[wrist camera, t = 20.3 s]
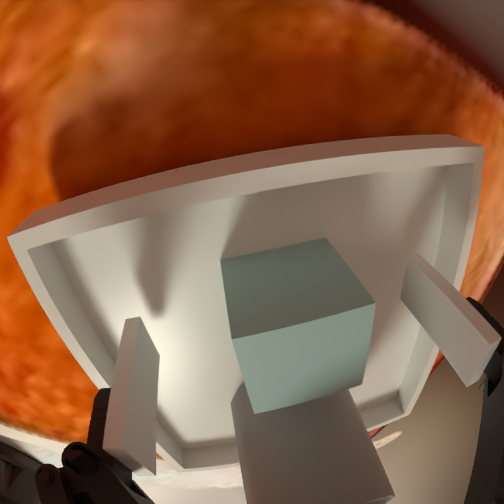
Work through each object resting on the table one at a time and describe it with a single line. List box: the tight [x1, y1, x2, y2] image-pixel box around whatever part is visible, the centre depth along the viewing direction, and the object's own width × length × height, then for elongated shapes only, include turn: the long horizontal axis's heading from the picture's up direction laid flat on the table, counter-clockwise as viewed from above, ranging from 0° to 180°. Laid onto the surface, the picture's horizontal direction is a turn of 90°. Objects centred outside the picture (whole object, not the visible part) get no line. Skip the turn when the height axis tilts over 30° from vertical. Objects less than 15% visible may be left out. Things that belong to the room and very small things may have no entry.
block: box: [220, 238, 376, 414], centre depth 13 cm, size 5×5×5 cm
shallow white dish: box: [7, 134, 484, 472], centre depth 18 cm, size 22×24×4 cm
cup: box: [231, 384, 395, 504], centre depth 16 cm, size 8×8×10 cm
